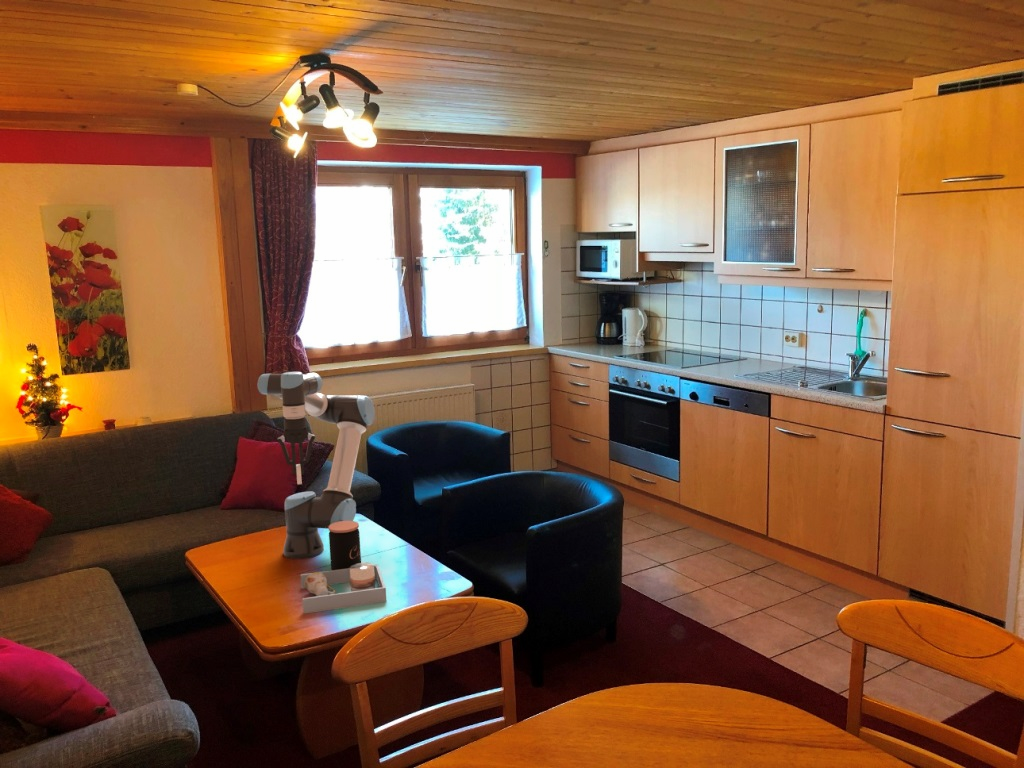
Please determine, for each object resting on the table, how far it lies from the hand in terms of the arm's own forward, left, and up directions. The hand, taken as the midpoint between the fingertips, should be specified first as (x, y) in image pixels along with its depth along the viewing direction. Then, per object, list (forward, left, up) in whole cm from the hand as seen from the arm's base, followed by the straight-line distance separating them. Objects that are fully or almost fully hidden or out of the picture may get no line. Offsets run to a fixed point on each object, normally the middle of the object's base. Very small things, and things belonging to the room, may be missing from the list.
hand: (299, 483), depth 285 cm
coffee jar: (+2, +14, -35) cm, 37 cm away
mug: (+21, +6, -35) cm, 41 cm away
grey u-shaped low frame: (+21, +11, -34) cm, 42 cm away
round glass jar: (+21, +18, -35) cm, 44 cm away
